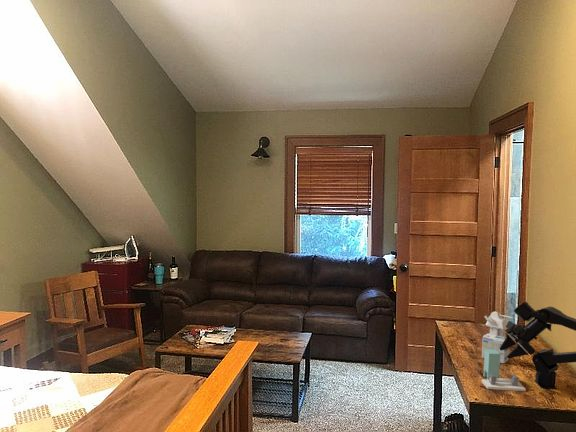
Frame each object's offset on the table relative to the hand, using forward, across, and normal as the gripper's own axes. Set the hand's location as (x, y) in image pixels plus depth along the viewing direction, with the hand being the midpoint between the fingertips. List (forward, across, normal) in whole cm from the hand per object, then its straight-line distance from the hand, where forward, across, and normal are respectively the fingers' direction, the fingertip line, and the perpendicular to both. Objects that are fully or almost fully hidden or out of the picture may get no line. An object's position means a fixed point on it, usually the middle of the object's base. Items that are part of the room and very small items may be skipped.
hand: (503, 353), depth 199 cm
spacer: (+11, 0, +4) cm, 12 cm away
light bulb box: (+5, -23, +11) cm, 26 cm away
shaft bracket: (+10, +7, +6) cm, 14 cm away
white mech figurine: (0, -40, +16) cm, 43 cm away
